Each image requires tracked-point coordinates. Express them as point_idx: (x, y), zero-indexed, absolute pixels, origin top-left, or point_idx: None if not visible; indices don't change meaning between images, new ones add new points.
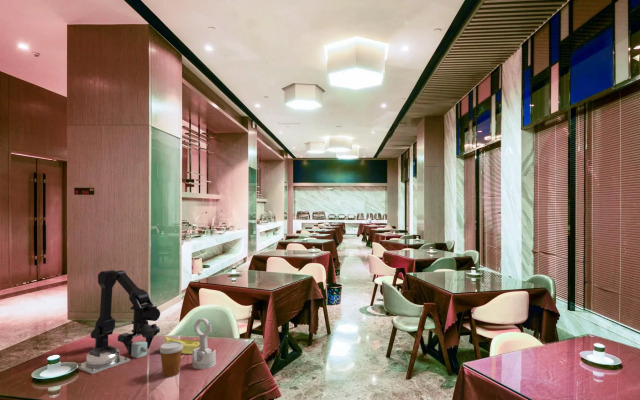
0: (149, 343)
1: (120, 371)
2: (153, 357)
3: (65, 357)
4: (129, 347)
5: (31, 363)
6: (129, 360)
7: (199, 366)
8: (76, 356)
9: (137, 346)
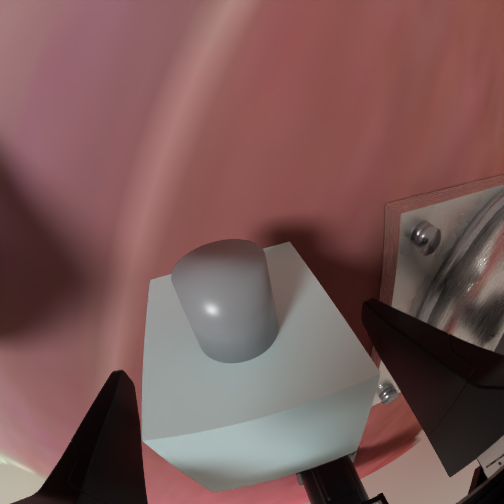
0: (99, 425)
1: (497, 35)
2: (111, 98)
3: None
4: (463, 341)
5: None
6: (394, 205)
7: None
8: None
9: (368, 357)
